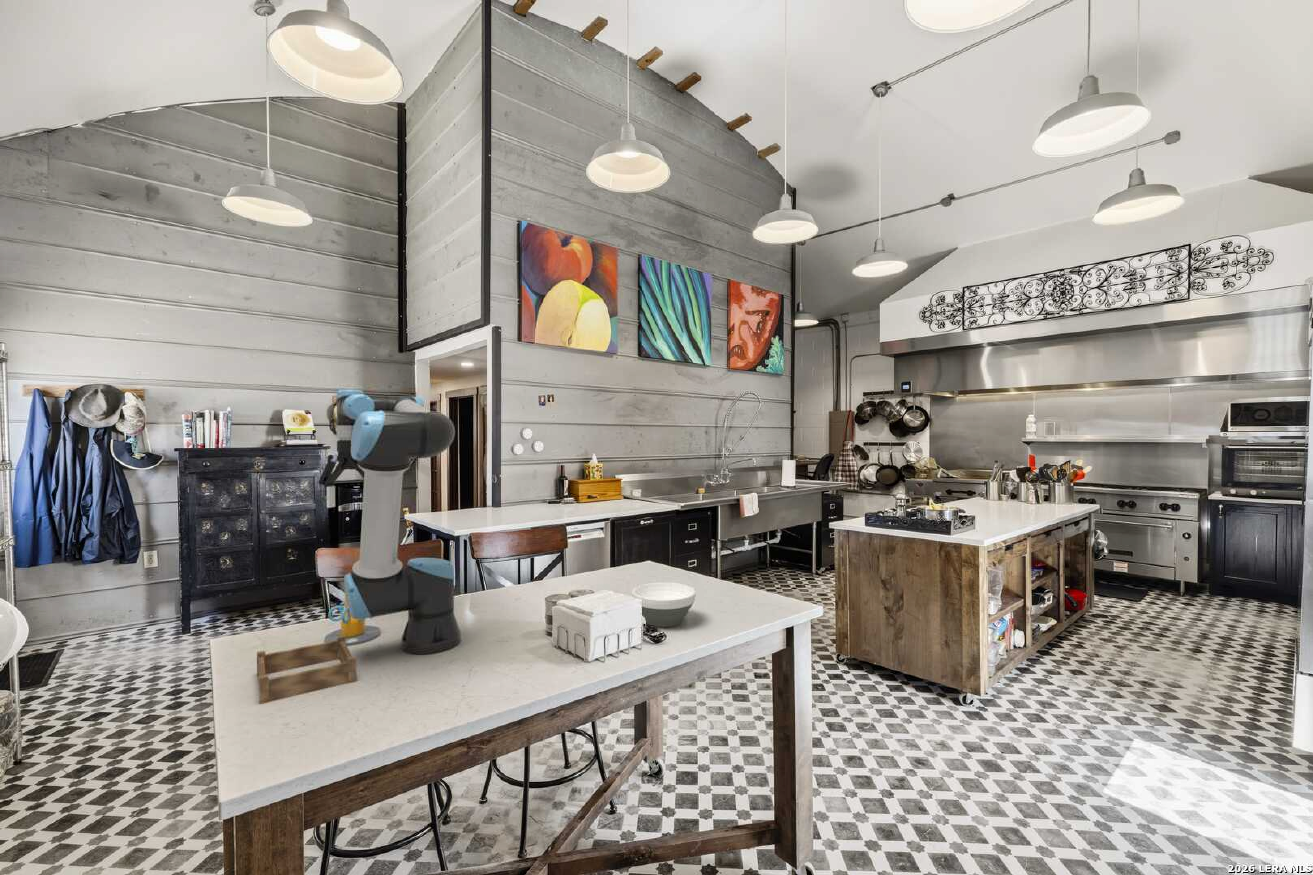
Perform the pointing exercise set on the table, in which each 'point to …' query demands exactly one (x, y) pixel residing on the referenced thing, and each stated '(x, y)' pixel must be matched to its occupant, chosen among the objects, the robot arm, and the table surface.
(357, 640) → the trivet
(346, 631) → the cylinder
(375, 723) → the table surface
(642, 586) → the bowl
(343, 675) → the crate
